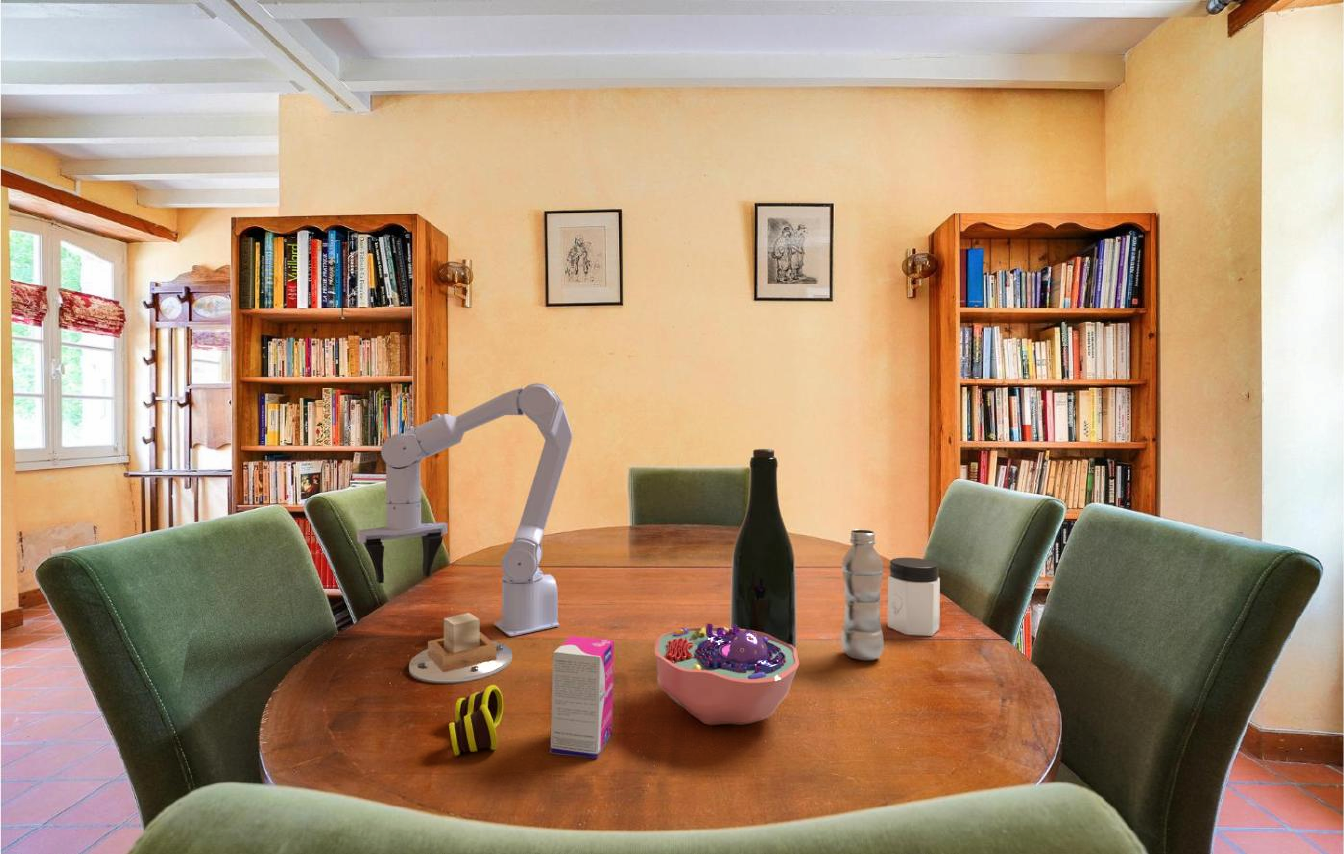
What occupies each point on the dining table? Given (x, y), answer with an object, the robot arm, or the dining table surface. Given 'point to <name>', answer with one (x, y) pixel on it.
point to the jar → (914, 596)
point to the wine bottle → (764, 559)
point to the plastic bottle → (862, 598)
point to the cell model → (725, 672)
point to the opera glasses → (477, 721)
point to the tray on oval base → (459, 662)
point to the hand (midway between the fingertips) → (403, 578)
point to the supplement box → (582, 696)
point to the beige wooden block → (461, 633)
